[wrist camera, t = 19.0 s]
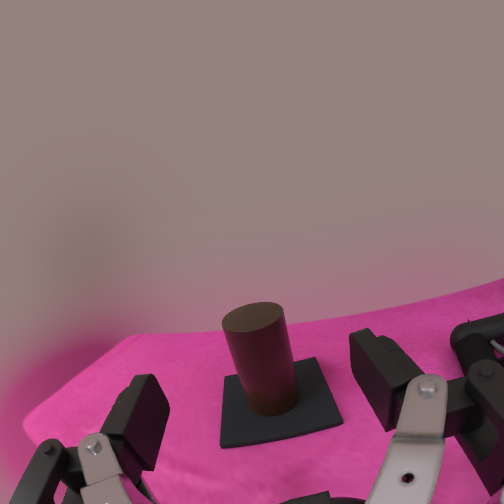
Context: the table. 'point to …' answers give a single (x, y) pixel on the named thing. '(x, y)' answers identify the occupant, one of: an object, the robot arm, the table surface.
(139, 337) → the table surface
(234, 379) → the black mat
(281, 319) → the dark brown cylinder
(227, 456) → the table surface
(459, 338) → the door handle
